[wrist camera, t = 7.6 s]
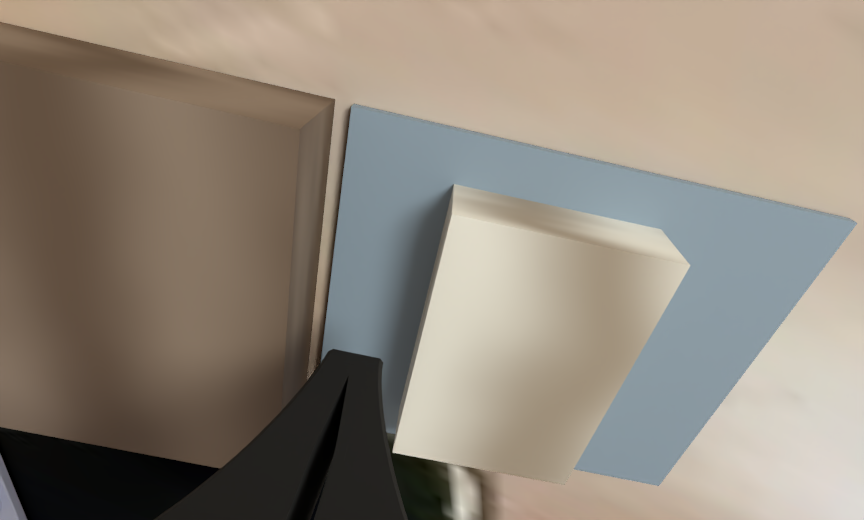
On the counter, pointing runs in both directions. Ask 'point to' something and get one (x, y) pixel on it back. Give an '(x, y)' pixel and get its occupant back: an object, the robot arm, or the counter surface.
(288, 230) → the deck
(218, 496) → the robot arm
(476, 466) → the tile
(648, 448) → the mat
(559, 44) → the counter surface
